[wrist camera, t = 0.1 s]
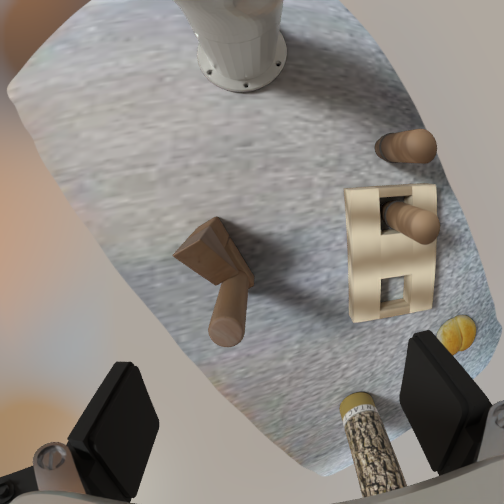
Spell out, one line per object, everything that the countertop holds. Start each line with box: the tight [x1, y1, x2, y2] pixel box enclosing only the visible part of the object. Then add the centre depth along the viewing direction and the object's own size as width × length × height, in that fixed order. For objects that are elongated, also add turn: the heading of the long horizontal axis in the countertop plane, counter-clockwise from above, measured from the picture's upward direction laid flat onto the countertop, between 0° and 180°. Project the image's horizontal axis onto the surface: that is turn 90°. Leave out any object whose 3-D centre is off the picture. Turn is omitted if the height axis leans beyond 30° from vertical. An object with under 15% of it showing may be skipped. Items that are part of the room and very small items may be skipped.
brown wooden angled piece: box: [173, 217, 254, 347], centre depth 38 cm, size 4×11×18 cm, turn 30°
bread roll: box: [437, 315, 476, 355], centre depth 48 cm, size 8×9×4 cm
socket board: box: [344, 183, 437, 323], centre depth 45 cm, size 20×14×3 cm
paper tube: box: [340, 392, 407, 498], centre depth 42 cm, size 7×7×25 cm
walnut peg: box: [375, 129, 437, 164], centre depth 36 cm, size 4×4×12 cm
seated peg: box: [380, 200, 440, 245], centre depth 39 cm, size 4×4×12 cm
